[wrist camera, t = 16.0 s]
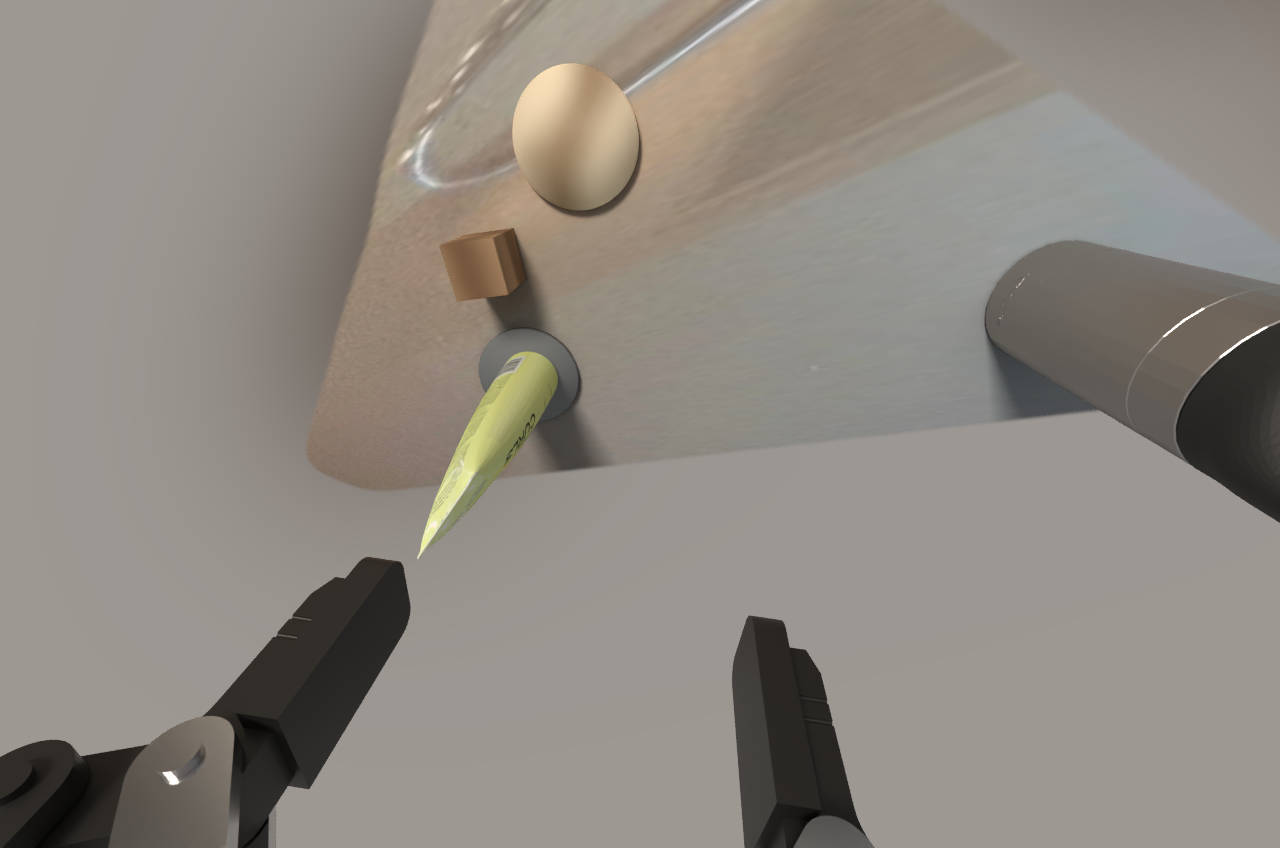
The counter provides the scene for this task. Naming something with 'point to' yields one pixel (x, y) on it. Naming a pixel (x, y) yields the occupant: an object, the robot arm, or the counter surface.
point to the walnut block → (483, 264)
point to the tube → (492, 438)
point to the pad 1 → (575, 137)
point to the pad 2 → (538, 343)
